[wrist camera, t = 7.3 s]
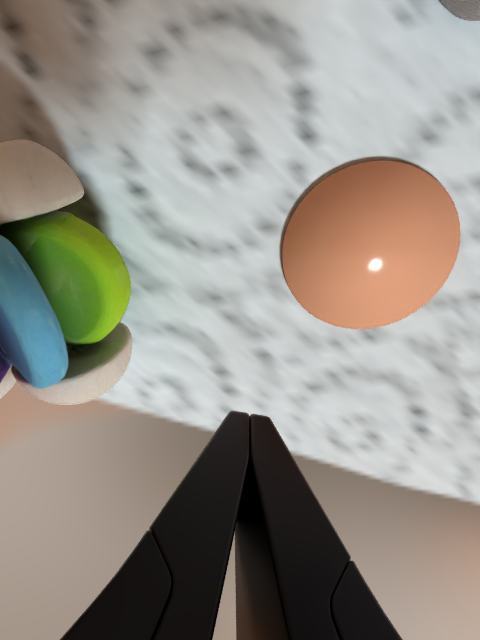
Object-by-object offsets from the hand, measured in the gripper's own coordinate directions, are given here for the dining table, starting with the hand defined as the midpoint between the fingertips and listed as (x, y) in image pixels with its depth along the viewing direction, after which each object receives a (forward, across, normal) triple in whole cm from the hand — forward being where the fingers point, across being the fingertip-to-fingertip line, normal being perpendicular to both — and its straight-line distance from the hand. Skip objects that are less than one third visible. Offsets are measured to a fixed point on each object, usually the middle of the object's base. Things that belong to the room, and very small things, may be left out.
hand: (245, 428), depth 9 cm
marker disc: (+7, -4, -2) cm, 8 cm away
